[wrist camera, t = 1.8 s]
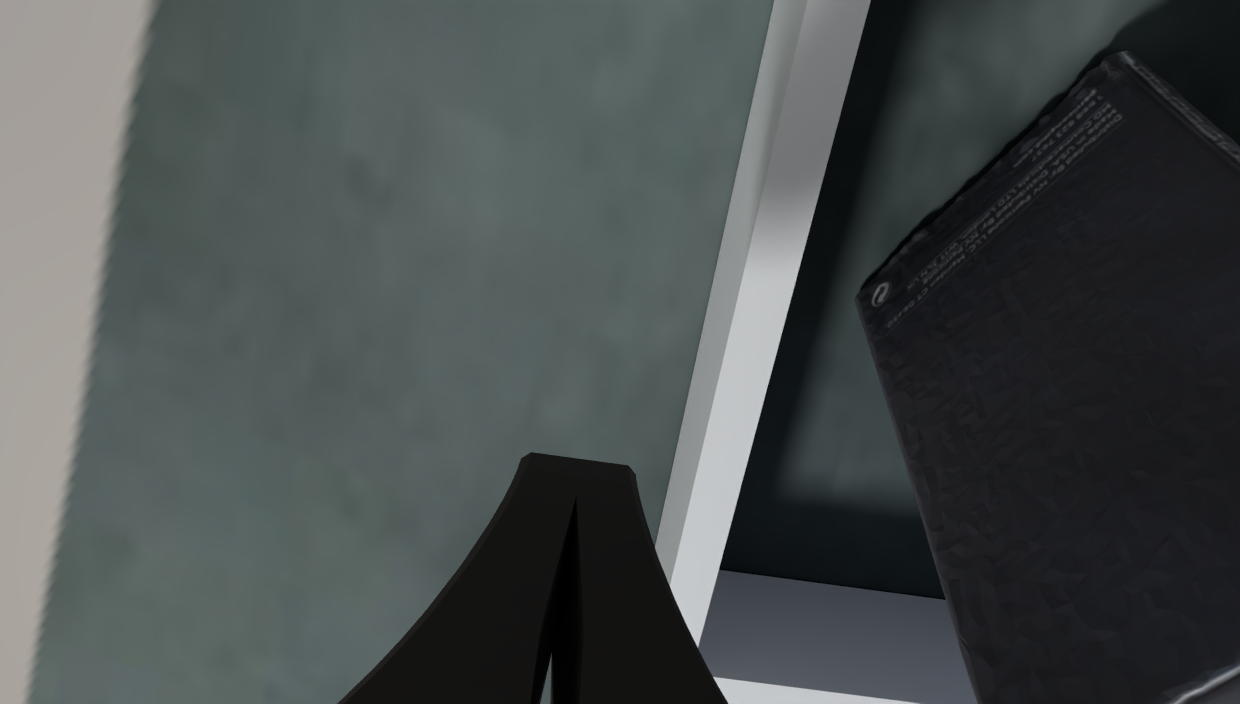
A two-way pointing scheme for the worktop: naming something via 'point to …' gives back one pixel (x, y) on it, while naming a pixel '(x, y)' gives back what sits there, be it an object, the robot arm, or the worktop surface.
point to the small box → (1080, 401)
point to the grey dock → (731, 406)
